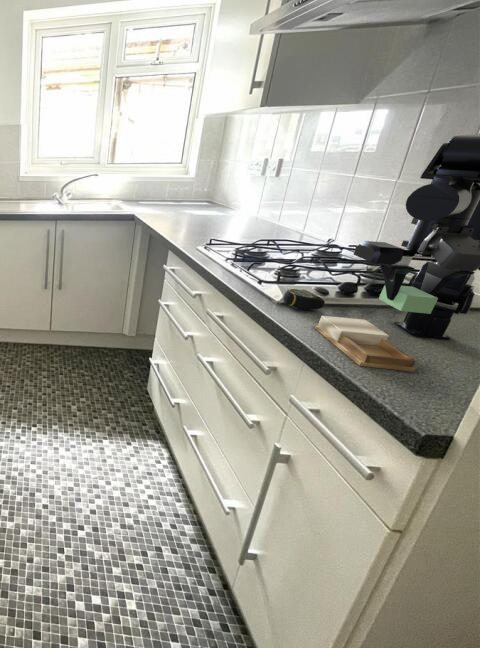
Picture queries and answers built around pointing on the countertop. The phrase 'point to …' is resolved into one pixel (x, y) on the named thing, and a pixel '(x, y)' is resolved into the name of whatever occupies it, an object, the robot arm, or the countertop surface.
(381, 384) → the countertop surface
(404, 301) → the green rectangular block
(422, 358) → the countertop surface
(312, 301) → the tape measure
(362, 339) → the frame
